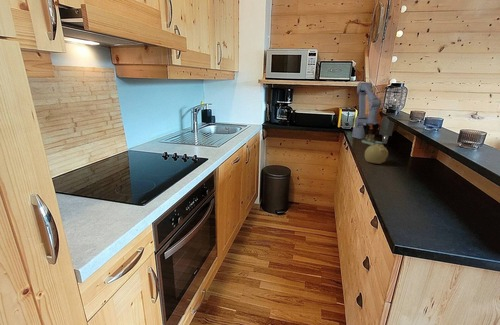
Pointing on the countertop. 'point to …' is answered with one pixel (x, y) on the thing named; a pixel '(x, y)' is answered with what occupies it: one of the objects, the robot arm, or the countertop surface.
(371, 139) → the oak block
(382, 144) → the parts tray
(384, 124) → the skincare box
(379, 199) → the countertop surface
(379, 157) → the pale yellow round ball
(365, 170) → the countertop surface
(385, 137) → the metal peg
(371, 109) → the robot arm
